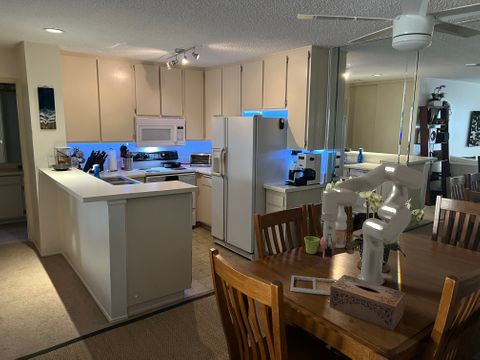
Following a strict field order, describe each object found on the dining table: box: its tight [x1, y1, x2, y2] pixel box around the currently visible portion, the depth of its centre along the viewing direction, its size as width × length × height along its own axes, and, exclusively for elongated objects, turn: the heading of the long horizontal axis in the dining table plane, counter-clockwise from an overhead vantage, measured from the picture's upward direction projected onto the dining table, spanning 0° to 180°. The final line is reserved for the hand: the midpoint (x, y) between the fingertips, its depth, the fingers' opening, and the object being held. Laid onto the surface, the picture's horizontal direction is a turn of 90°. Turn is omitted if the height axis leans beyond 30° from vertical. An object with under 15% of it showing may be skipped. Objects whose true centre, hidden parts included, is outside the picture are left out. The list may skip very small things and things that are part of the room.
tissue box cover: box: [328, 274, 406, 331], centre depth 142 cm, size 26×14×10 cm, turn 51°
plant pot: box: [303, 236, 321, 255], centre depth 208 cm, size 9×9×9 cm
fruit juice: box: [334, 206, 348, 249], centre depth 218 cm, size 9×9×28 cm
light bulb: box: [319, 236, 336, 261], centre depth 159 cm, size 7×7×12 cm
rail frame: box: [290, 275, 338, 296], centre depth 163 cm, size 22×14×2 cm, turn 79°
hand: (327, 253), depth 160 cm, fingers closed on light bulb, 6 cm apart
